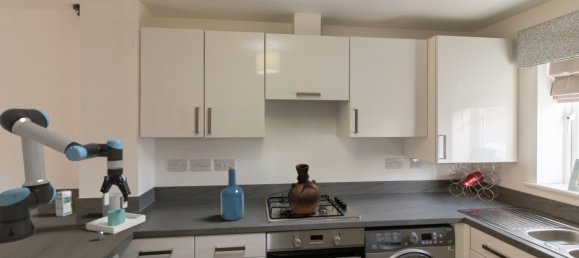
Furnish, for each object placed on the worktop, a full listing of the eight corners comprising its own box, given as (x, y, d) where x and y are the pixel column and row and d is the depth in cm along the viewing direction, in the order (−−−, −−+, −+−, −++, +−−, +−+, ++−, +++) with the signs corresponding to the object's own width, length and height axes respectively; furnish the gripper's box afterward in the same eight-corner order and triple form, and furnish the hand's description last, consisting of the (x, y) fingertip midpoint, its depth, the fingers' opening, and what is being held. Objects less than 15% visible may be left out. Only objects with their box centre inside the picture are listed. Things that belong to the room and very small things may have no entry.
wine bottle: (235, 222, 161) (234, 169, 160) (216, 219, 167) (215, 167, 166) (248, 215, 173) (247, 165, 172) (230, 212, 179) (229, 164, 178)
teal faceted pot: (128, 221, 162) (128, 209, 161) (115, 226, 154) (115, 214, 154) (117, 220, 164) (117, 208, 164) (104, 225, 157) (104, 212, 157)
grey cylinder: (106, 218, 170) (105, 197, 170) (99, 215, 176) (99, 195, 176) (123, 214, 178) (122, 194, 178) (116, 211, 184) (116, 192, 183)
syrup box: (63, 216, 175) (62, 192, 175) (55, 215, 176) (54, 192, 176) (72, 213, 181) (71, 190, 180) (64, 213, 182) (63, 190, 181)
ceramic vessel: (314, 207, 188) (314, 161, 187) (326, 215, 171) (325, 165, 170) (283, 210, 181) (283, 163, 180) (292, 219, 164) (292, 167, 163)
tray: (113, 234, 147) (113, 227, 146) (86, 229, 153) (85, 223, 153) (145, 220, 165) (145, 215, 165) (119, 217, 172) (119, 211, 172)
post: (99, 240, 138) (99, 232, 138) (96, 240, 139) (95, 231, 139) (104, 238, 141) (104, 230, 141) (101, 238, 142) (100, 230, 141)
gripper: (138, 168, 158) (138, 206, 158) (105, 165, 166) (105, 201, 167) (126, 170, 151) (126, 210, 151) (92, 167, 159) (92, 205, 160)
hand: (115, 206), depth 159 cm, fingers open, 13 cm apart
